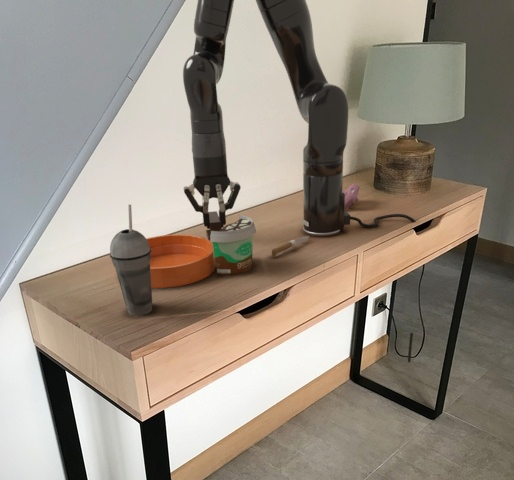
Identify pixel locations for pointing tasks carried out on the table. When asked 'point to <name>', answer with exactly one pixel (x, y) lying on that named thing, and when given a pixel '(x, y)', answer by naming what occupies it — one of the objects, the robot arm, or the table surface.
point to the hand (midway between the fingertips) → (215, 227)
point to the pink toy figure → (351, 195)
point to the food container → (234, 247)
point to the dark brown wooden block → (213, 223)
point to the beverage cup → (133, 268)
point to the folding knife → (288, 245)
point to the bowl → (180, 260)
